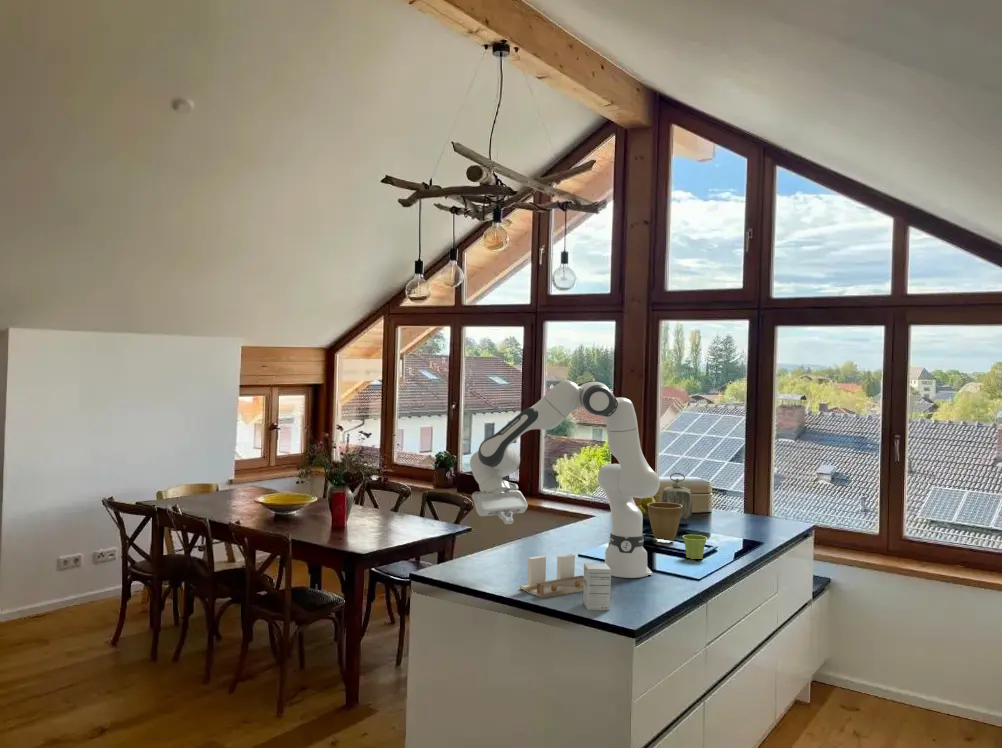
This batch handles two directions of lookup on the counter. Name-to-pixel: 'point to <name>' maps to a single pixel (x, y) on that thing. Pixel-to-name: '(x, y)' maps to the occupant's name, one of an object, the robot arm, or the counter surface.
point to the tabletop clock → (679, 496)
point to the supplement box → (597, 586)
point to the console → (556, 587)
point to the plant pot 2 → (694, 546)
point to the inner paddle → (565, 566)
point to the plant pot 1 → (664, 519)
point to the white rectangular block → (536, 570)
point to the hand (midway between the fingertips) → (509, 523)
